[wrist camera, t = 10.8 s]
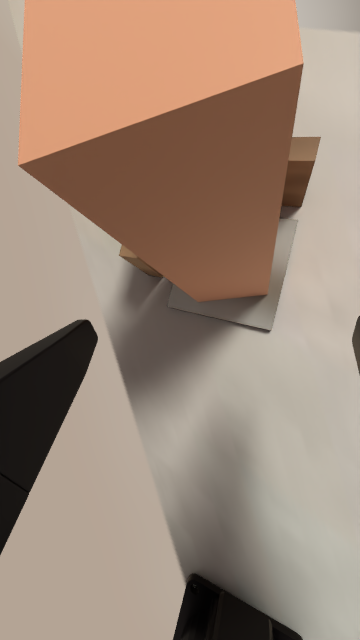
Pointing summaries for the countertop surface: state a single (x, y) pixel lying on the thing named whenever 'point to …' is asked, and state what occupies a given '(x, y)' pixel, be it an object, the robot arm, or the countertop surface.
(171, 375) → the countertop surface
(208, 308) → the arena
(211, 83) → the terracotta block
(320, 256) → the countertop surface
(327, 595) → the countertop surface
